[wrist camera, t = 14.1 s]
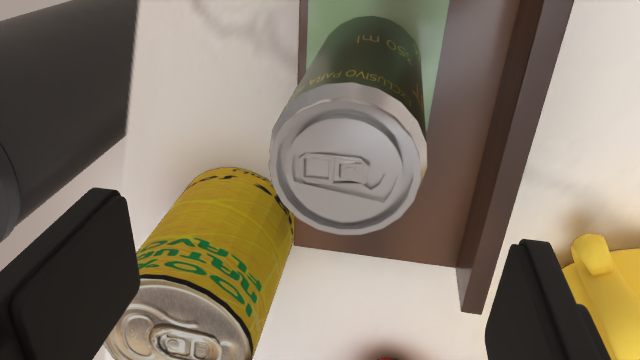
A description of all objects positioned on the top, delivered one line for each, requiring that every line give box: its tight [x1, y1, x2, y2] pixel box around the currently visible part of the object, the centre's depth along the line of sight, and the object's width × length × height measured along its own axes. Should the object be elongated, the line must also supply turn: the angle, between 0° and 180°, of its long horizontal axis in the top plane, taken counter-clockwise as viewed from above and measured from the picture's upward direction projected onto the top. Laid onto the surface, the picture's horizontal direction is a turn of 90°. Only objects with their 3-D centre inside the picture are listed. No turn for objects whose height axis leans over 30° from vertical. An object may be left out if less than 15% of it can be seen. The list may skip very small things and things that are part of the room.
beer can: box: [269, 16, 427, 235], centre depth 21 cm, size 5×5×12 cm
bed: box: [294, 0, 574, 315], centre depth 27 cm, size 12×20×8 cm, turn 177°
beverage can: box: [103, 168, 294, 360], centre depth 32 cm, size 9×9×12 cm
